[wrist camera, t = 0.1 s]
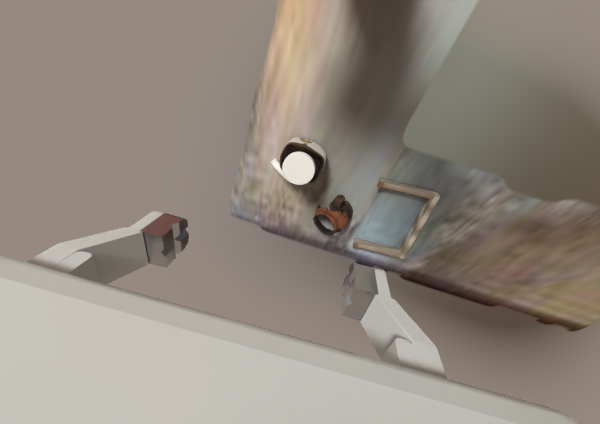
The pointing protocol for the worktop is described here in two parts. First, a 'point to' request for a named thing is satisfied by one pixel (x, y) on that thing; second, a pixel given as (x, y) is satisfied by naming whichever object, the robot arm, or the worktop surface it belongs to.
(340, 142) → the worktop surface
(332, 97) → the worktop surface
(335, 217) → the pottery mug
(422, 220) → the wooden u-shaped frame
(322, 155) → the spread jar
